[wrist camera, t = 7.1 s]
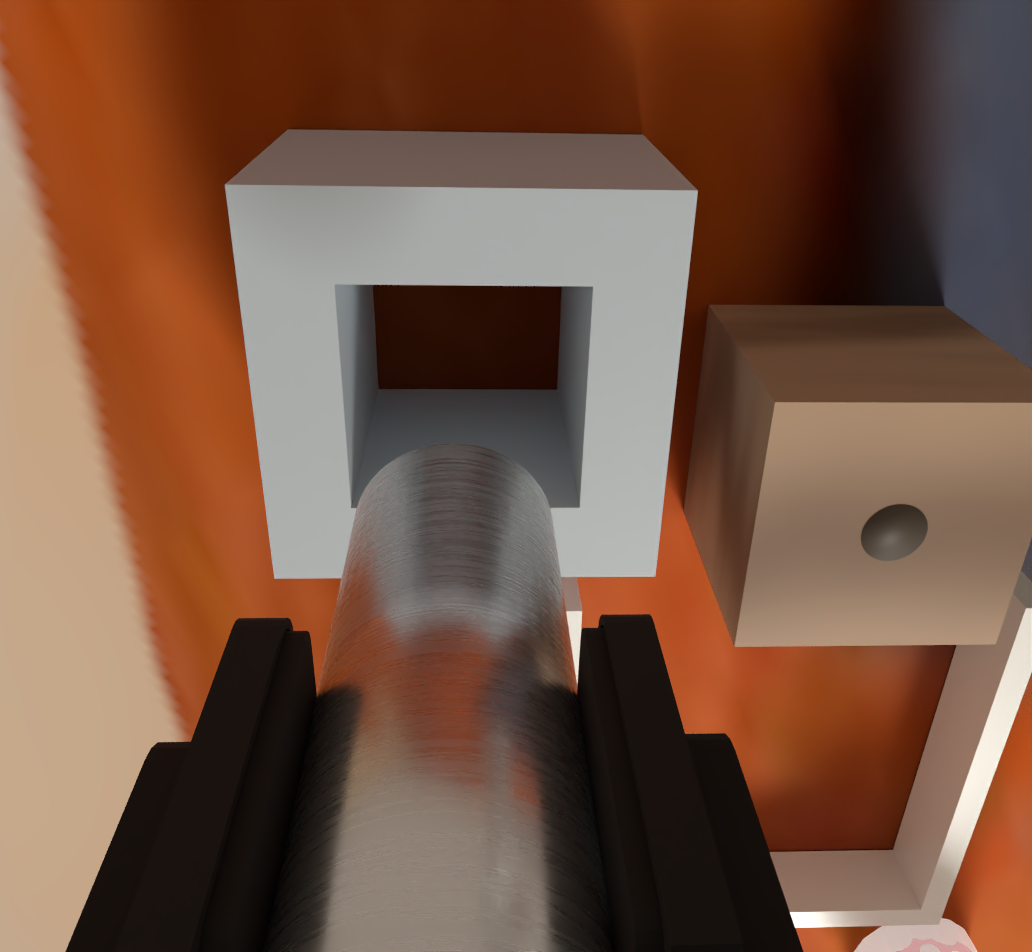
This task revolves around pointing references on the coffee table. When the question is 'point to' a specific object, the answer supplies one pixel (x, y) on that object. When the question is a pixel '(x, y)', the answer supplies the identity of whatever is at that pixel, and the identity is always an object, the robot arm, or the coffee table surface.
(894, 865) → the u-shaped frame
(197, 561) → the coffee table surface
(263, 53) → the coffee table surface
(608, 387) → the bore block
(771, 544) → the walnut block
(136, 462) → the coffee table surface
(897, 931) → the beverage cup
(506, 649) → the pin
